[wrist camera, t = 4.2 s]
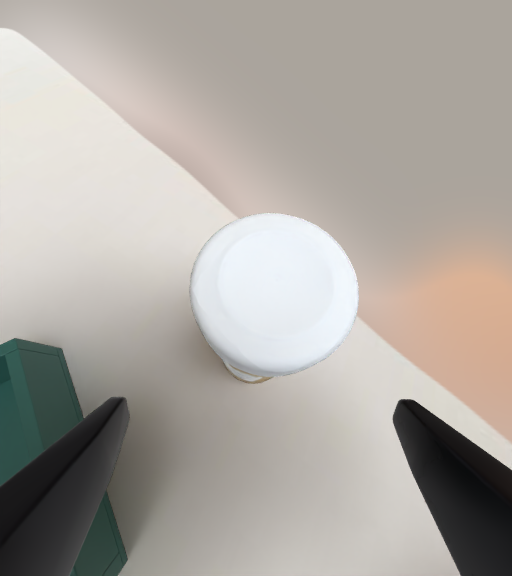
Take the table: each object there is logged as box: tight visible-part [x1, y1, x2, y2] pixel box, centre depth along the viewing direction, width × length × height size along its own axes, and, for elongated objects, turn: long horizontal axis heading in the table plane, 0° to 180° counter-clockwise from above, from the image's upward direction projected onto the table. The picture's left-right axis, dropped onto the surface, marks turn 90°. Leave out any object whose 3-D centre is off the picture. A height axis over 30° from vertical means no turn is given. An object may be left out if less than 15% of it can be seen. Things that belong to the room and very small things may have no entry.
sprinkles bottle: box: [190, 213, 359, 384], centre depth 13 cm, size 5×5×13 cm
